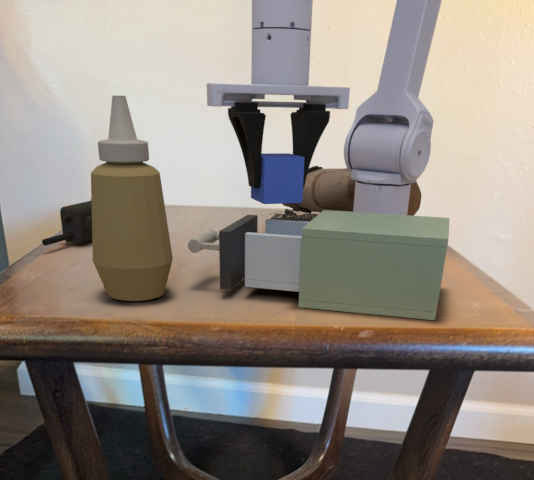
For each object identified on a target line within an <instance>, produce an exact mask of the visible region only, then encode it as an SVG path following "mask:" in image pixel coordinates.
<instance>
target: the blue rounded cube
mask: <svg viewBox="0 0 534 480" xmlns="http://www.w3.org/2000/svg"><path fill="white" fill-rule="evenodd" d="M261 158H262V174H261V186H260V188H253V187H251V186H250V199H252V200H254V201H256V202H259V203H261V204H263V205H283V204H289V203H302V199H303V179H304V157H302V156H297V155H293V153H289V152H285V153H283V152H282V153H281V152H280V153H279V152H278V153H276V152H275V153H271V152H270V153H262V155H261Z"/></svg>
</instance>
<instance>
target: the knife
mask: <svg viewBox="0 0 534 480" xmlns="http://www.w3.org/2000/svg"><path fill="white" fill-rule="evenodd" d="M284 214H290V215H298V214H297V212H295V211H293V209H292V210H291V209H288V208H285V210H284Z"/></svg>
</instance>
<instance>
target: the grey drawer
mask: <svg viewBox="0 0 534 480" xmlns="http://www.w3.org/2000/svg"><path fill="white" fill-rule="evenodd" d="M258 219H259V218H258V215H257V214H246V215H245V216H243V217H241V218H240V219H238V220H236V221H234V222H233V223H232V222H231V223H230V224H229V225H227V226H225V227H224V228H222V229H220V230H218V232H217V230H216V229H213V228H211V229H208V230H206V231H204V232H202V233H200V234H199V235H197V236H195V237H194V238H191V239H190V240H189V241H188V243H187V248H188V250H189V251H190V252H191V253H193V254H197V253H199V252H200V251H203V250H205V251H218V252H219V257H218V259H219V290H221V291H222V290H223V291H224V290H225V291H232V290H233V289H234V288H235V287H236V286H238V285H239V284H240V283H241V282H242V281H243V280H244V287H245V288H253V289H263V290H276V291H285V292H286V291H287V292H297V293H299V284H300V263H301V242H302V228H303V227H304V226H306V225H307V224H308V223H309V222H306V221H291V220H276V219H270V218H267V219H265V232H264V233H263V232H258ZM217 241H218V243H217Z"/></svg>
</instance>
